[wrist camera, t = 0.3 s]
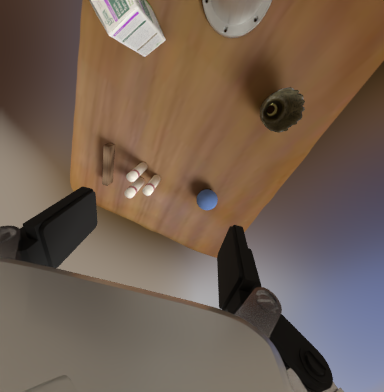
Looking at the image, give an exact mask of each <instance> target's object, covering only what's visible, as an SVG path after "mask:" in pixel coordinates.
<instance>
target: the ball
mask: <svg viewBox="0 0 384 392" xmlns="http://www.w3.org/2000/svg"><path fill="white" fill-rule="evenodd" d="M217 200H218V199H217V195H216V194H215V192H213V191H212V190H208V189H206V190H202V191H201V192H200V193H199V194H198V196H197V204H198V206H199V207H200V208H201V209H204V210H211V209H213V208H214V207H215V206H216V204H217Z"/></svg>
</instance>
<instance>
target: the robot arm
mask: <svg viewBox="0 0 384 392" xmlns="http://www.w3.org/2000/svg"><path fill="white" fill-rule="evenodd" d="M271 1H272V0H208V3H206V0H202V2H203V8H204V12H205V15H206V18H207V20H208V22H209V24H210V25H211V27H212V28H213V29H214V30H215V31H216V32H217V33H218V34H220V35H222V36H224V37H228V38H237V37H240V36H243V35H245V34H247V33H249V32H250V31H252V30H253V29H254V28H255V27H256V26H257V25H258V24H259V23H260V21H261V20H262V19H263V17H264V16H265V14H266V12H267V10H268V8H269V6H270V4H271ZM254 19H256V22H254ZM225 29H226V30H227V32H224V30H225ZM96 226H97V210H96V196H95V192H93V189H90V188H86V187H81V188H79V189H78V190H76V191H74V192H73V193H71V194H70V195H68V196H66V197H65V198H64V199H62V200H60V201H59V202H57V203H56V204H54V205H52V206H51V207H49V208H48V209H46V210H44V211H43V212H41V213H40V214H38V215H36V216H35V217H33V218H31V219H30V220H28V221H27V222H25V223H23V227H22V228H20V229H19V228H18V227H15V226H1V227H0V392H344V391H343V390H342V389H341V388H339V389H338V388H337V387H336V385H335V384H334V383H333V377H332V373H331V370H330V368H329V366H328V364H327V362H326V360H325V359H324V357H323V356H322V355H321V354H320V353H319V352H318V350H317V349H316V348H315V347H314V346H313V345H312V344H311V343H310V342H309V341H308V340H307V339H306V338H305V337H304V336H303V335H302V334H301V333H300V332H299V331H298V330H297V329H296V328H295V327H294V326H293V325H292V324H291V323H290V322H289V321H288V320H287V319H286V318H285V317H284V316H283V315H282V314H281V311H282V309H281V304H280V302H279V300H278V299H277V297H276V296H275V295H274V294H273V293H272V292H271V291H269V290H268V289H266V288H264V287H261V283H260V279H259V276H258V272H257V269H256V265H255V261H254V258H253V254H252V251H251V249H248V246H247V242H246V238H245V234H244V230H243V227H241V226H237V225H233V227H232V226H230V228H229V230H228V232H227V234H226V237H225V239H224V241H223V243H222V246H221V248H220V250H219V252H218V257H217V261H218V287H219V288H218V289H219V307H220V308H221V309H222V310H221V309H217V308H214V307H210V306H207V305H203V304H199V303H196V302H192V301H188V300H184V299H180V298H176V297H172V296H168V295H164V294H160V293H156V292H152V291H148V290H144V289H140V288H136V287H132V286H127V285H123V284H119V283H115V282H111V281H107V280H103V279H99V278H94V277H90V276H86V275H81V274H77V273H73V272H69V271H65V270H61V269H56V268H57V267H58V266H59V265H60V264H61V263H62V262H63V261H64V260H65V259H66V258H67V257H68V256H69V255H70V254H71V253H72V252H73V251H74V250H75V249H76V247H77V246H78V245H79V244H80V243H81V242H82V241H83V240H84V239H85V238H86V237H87V236H88V235H89V234H90V233H91V232H92V231H93V230H94V229H95V227H96Z"/></svg>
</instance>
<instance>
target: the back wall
mask: <svg viewBox="0 0 384 392" xmlns="http://www.w3.org/2000/svg"><path fill="white" fill-rule="evenodd" d="M114 152H115V144H112V143H108V144H106V145H103V181H102V184H103V185H106V186H108V185H109V184H110V183H112V182H113V168H114Z"/></svg>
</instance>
